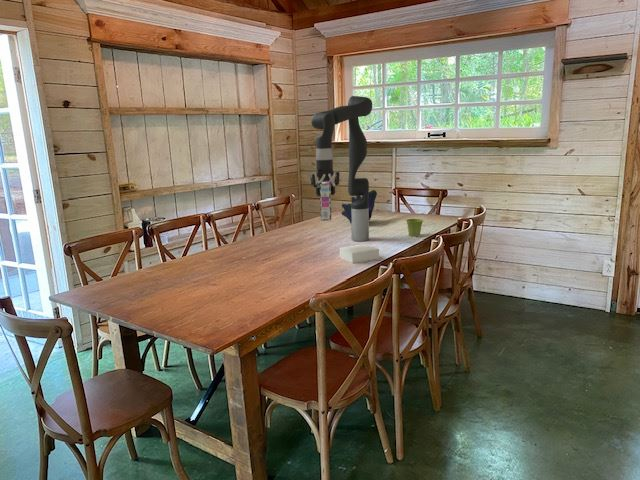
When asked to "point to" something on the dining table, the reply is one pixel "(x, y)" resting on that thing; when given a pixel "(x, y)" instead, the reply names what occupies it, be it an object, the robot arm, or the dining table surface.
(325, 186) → the candy bar box
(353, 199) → the decorative plant
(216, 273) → the dining table surface
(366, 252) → the grey block
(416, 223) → the plant pot
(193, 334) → the dining table surface
